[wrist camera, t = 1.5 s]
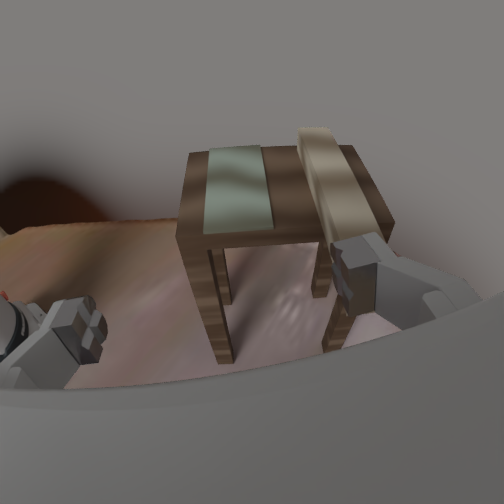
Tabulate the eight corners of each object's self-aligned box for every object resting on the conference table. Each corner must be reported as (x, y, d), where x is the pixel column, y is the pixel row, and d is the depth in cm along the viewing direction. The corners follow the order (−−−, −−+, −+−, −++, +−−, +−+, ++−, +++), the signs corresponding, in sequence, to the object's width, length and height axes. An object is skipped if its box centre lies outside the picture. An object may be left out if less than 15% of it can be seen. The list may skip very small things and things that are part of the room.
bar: (390, 310, 21) (404, 286, 19) (346, 316, 21) (356, 292, 19) (325, 149, 36) (327, 127, 34) (296, 149, 36) (298, 127, 34)
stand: (338, 353, 50) (395, 219, 27) (218, 364, 50) (174, 234, 27) (323, 286, 59) (352, 143, 36) (217, 294, 59) (188, 150, 36)
